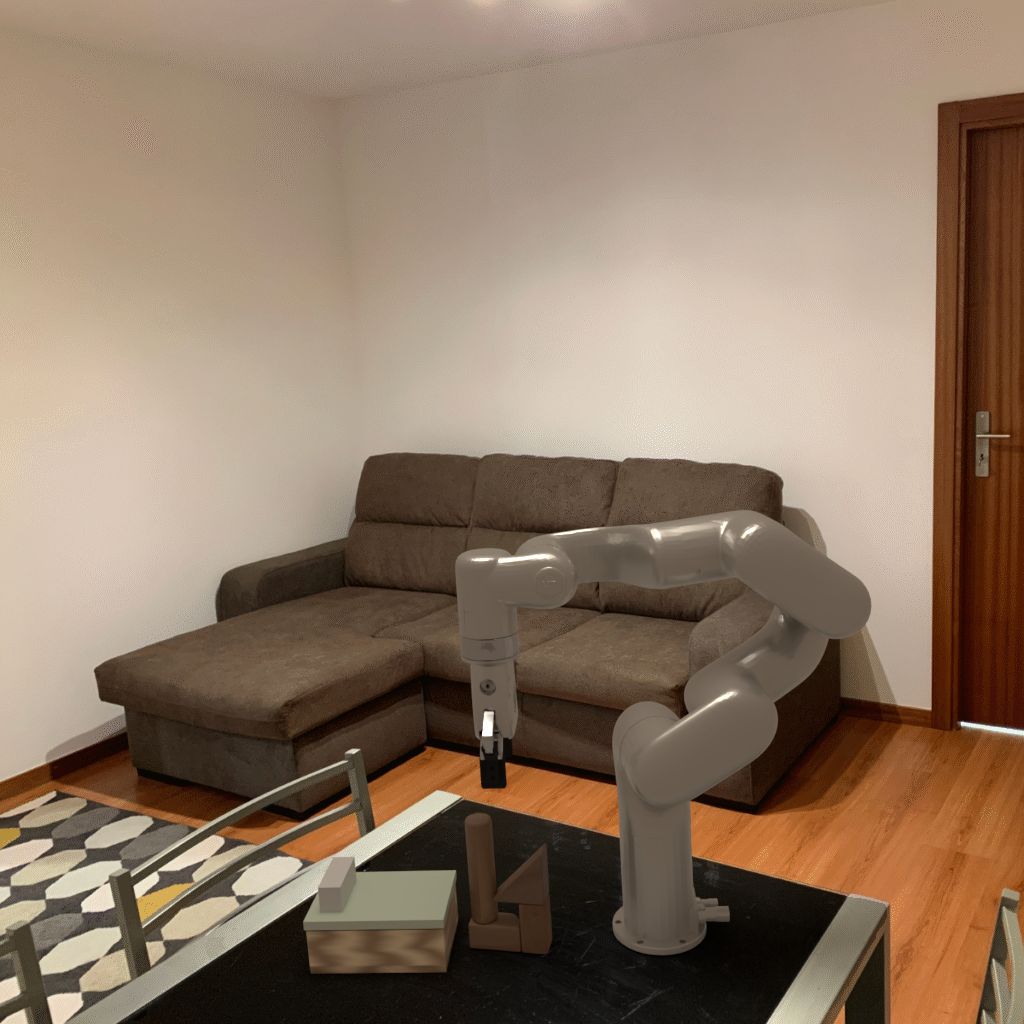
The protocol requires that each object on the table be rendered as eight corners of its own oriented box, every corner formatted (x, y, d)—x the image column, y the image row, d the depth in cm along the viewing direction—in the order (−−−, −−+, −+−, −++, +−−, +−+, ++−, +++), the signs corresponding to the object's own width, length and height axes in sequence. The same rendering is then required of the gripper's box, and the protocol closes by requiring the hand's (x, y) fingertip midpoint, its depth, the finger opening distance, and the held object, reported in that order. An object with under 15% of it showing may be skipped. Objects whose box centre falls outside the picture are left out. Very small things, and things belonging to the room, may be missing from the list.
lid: (456, 878, 142) (454, 846, 142) (443, 928, 130) (441, 894, 129) (328, 880, 144) (325, 849, 143) (303, 930, 132) (300, 896, 131)
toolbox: (458, 920, 143) (455, 880, 142) (446, 972, 131) (442, 929, 130) (333, 922, 145) (329, 883, 144) (310, 973, 133) (306, 931, 132)
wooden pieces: (547, 955, 133) (539, 828, 131) (469, 949, 136) (459, 824, 133) (553, 939, 137) (545, 815, 134) (476, 933, 140) (467, 811, 137)
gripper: (513, 665, 121) (521, 800, 124) (523, 626, 138) (530, 745, 141) (451, 667, 122) (460, 801, 124) (468, 627, 139) (476, 746, 141)
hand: (497, 771), depth 133 cm, fingers open, 9 cm apart
